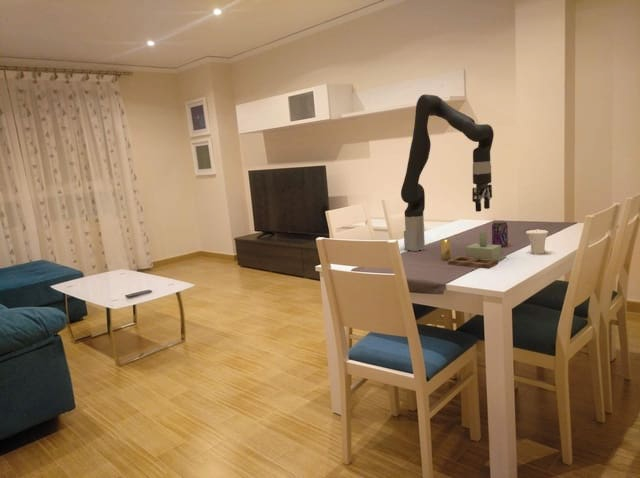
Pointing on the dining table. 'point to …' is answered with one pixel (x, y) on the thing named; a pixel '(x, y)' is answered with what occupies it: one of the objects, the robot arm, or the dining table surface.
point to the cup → (537, 240)
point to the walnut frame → (473, 262)
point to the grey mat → (500, 258)
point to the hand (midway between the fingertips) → (482, 210)
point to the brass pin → (445, 249)
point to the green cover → (483, 249)
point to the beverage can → (500, 233)
